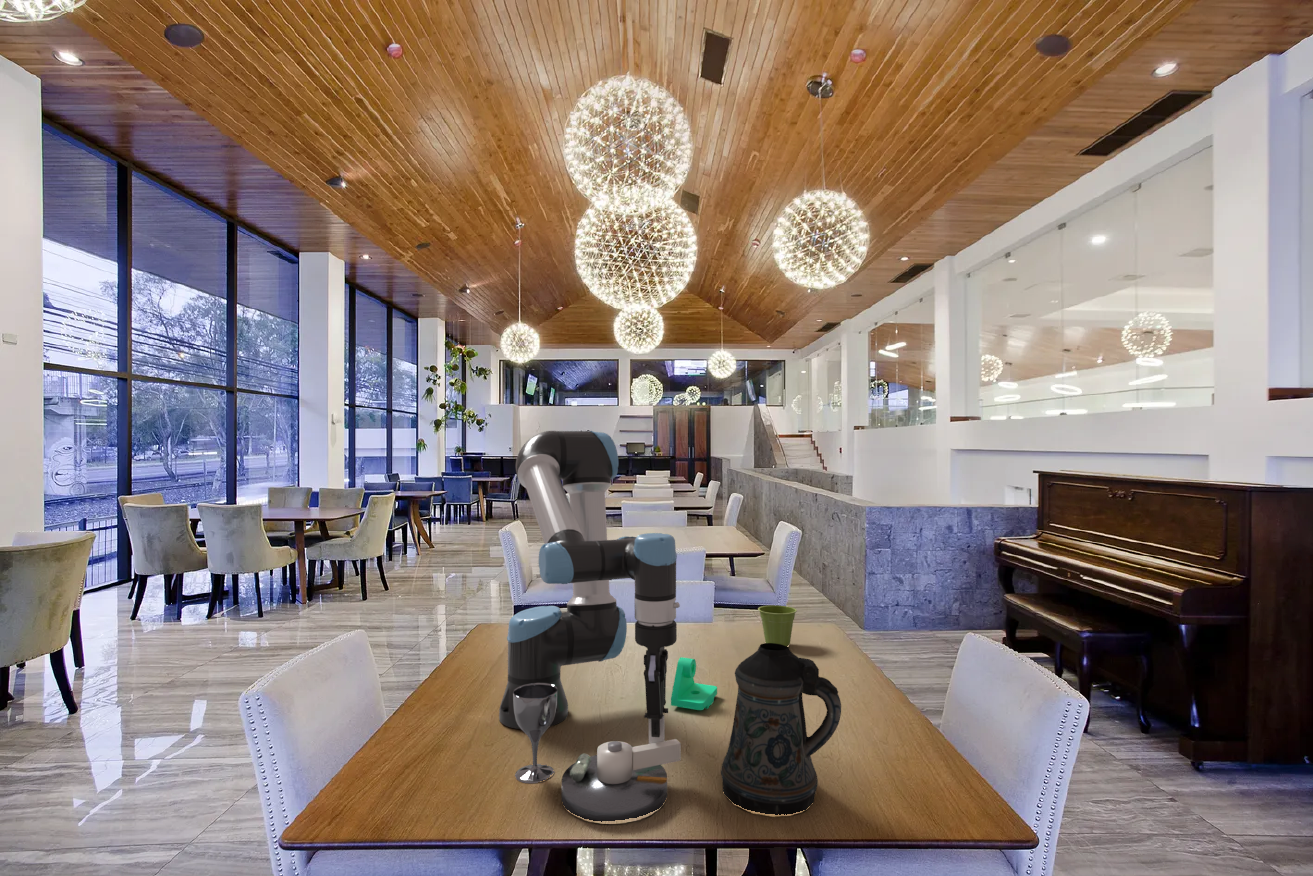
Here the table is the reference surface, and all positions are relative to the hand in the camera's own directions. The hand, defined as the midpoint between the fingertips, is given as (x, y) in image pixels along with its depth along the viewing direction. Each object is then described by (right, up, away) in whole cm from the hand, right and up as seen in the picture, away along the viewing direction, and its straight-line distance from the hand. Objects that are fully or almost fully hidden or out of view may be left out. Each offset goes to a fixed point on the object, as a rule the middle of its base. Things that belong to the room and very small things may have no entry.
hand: (656, 751), depth 114 cm
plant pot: (+37, -8, +82) cm, 90 cm away
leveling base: (-7, -5, -6) cm, 10 cm away
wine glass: (-22, -5, +2) cm, 23 cm away
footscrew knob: (-3, -1, -4) cm, 5 cm away
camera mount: (+9, -6, +36) cm, 37 cm away
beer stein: (+21, -5, -5) cm, 22 cm away
